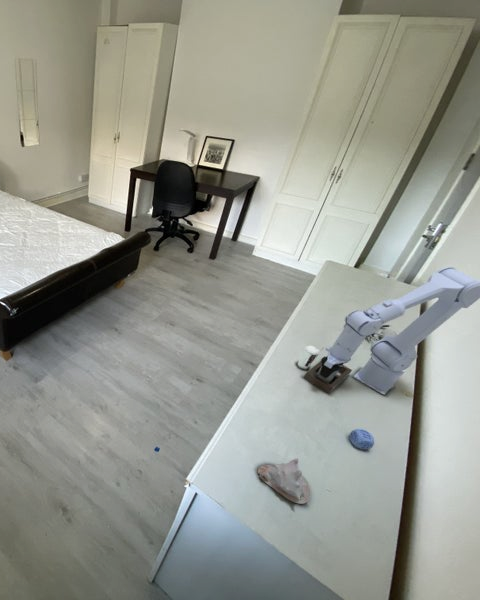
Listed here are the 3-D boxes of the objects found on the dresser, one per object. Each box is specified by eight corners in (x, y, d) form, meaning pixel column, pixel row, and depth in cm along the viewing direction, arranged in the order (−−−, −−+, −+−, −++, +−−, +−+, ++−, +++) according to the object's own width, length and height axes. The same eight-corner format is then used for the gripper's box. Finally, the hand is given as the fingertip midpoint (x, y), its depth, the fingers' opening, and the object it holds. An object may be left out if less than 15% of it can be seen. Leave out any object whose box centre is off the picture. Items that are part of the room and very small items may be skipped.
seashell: (311, 515, 78) (330, 497, 73) (258, 493, 82) (272, 475, 77) (305, 476, 86) (322, 457, 81) (257, 458, 90) (269, 439, 84)
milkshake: (313, 372, 118) (326, 352, 112) (297, 369, 118) (310, 349, 113) (309, 363, 121) (321, 343, 116) (293, 360, 122) (305, 341, 116)
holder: (348, 375, 117) (352, 370, 115) (328, 393, 110) (332, 388, 108) (323, 361, 123) (327, 355, 121) (303, 377, 115) (306, 372, 114)
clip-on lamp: (359, 326, 146) (357, 337, 133) (365, 313, 144) (363, 323, 131) (393, 336, 139) (394, 349, 126) (400, 323, 137) (402, 335, 124)
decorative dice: (353, 447, 94) (360, 439, 91) (347, 435, 97) (354, 427, 95) (368, 451, 93) (376, 443, 91) (362, 438, 96) (370, 430, 94)
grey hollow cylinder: (328, 387, 112) (344, 367, 106) (313, 382, 114) (327, 361, 108) (328, 379, 115) (343, 358, 109) (314, 373, 117) (327, 353, 111)
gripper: (342, 329, 110) (324, 358, 118) (323, 345, 104) (304, 374, 111) (366, 341, 106) (345, 370, 114) (347, 358, 99) (326, 387, 107)
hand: (326, 373), depth 112 cm, fingers closed on grey hollow cylinder, 4 cm apart
